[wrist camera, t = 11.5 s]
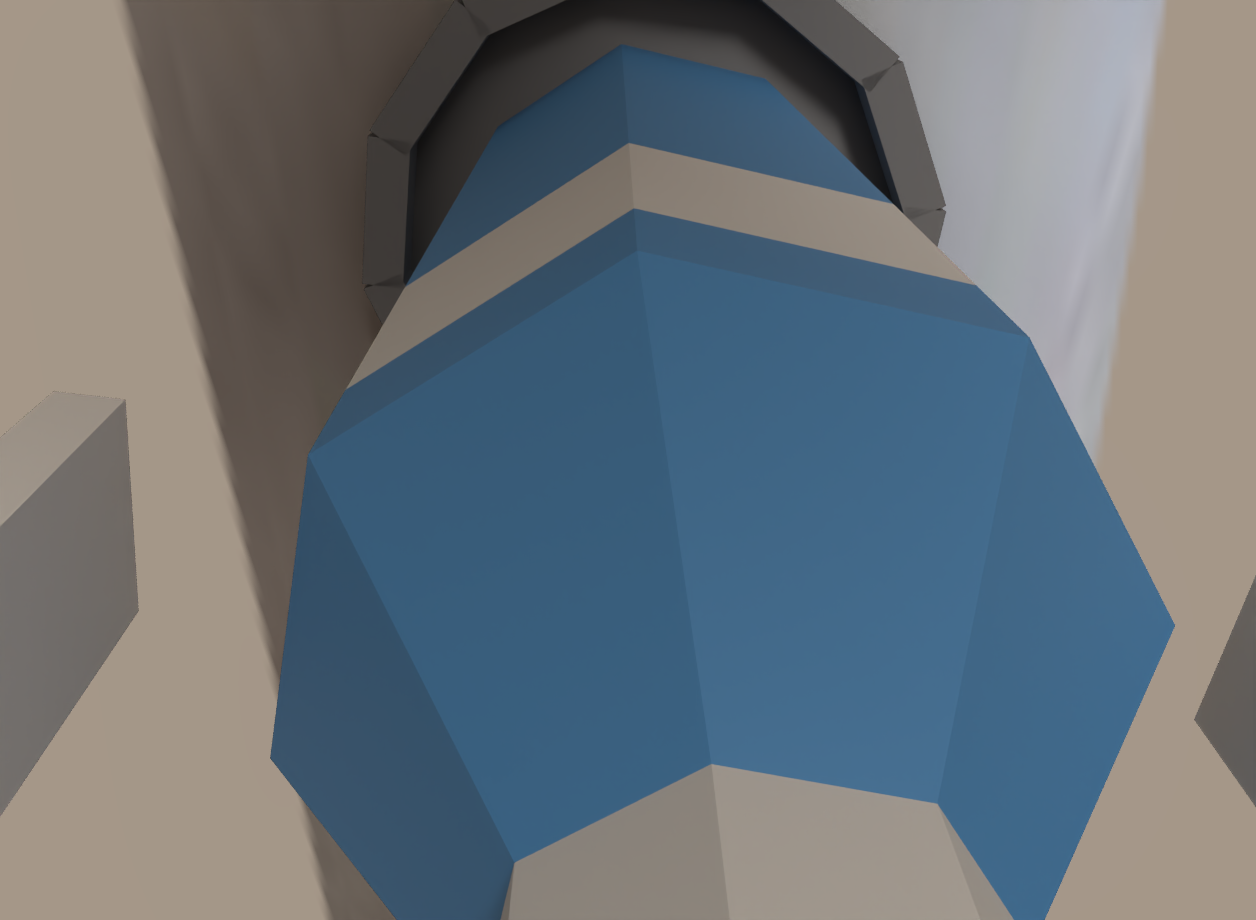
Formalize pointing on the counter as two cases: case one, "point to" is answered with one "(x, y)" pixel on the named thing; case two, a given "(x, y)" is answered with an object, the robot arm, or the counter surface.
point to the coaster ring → (580, 35)
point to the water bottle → (703, 547)
